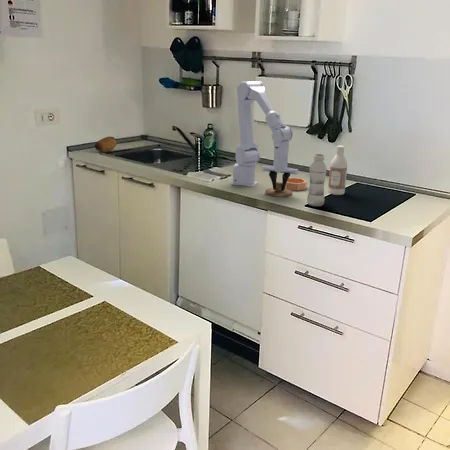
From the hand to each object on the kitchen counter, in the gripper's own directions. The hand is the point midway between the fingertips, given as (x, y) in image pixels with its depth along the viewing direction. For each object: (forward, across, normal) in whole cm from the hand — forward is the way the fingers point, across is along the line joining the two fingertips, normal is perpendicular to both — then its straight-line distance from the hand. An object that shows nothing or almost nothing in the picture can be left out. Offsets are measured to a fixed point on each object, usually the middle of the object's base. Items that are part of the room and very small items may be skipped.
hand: (278, 189), depth 218 cm
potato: (+2, -108, +45) cm, 117 cm away
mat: (+2, 0, 0) cm, 2 cm away
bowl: (+2, +4, +12) cm, 13 cm away
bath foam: (+2, +22, +12) cm, 25 cm away
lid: (+2, 0, 0) cm, 2 cm away
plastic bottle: (+2, +17, -10) cm, 20 cm away
